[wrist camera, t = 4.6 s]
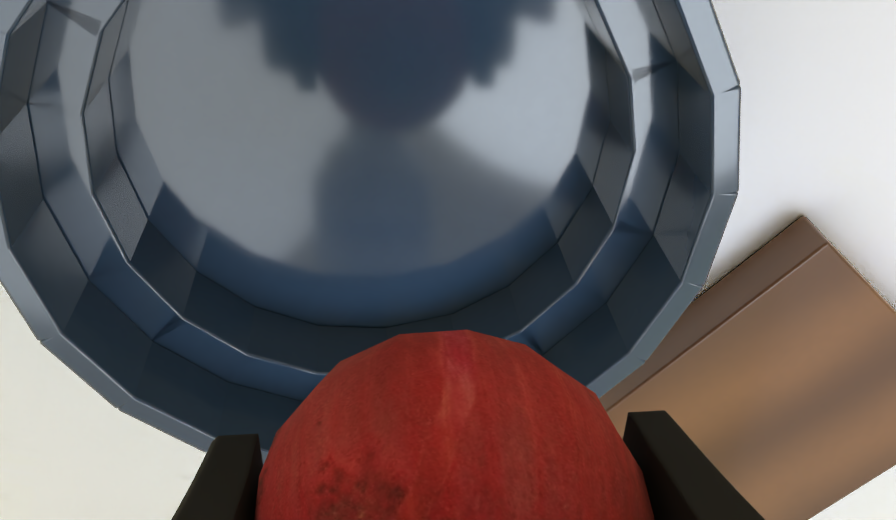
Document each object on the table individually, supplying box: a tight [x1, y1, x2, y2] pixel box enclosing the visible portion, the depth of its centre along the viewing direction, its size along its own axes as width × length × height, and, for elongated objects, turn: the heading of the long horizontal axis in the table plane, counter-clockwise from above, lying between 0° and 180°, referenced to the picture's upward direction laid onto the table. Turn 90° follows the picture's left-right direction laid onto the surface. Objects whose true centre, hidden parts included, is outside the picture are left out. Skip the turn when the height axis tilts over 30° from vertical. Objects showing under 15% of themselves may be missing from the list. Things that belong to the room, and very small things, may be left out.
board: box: [599, 216, 896, 520], centre depth 27 cm, size 10×18×2 cm, turn 137°
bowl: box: [0, 0, 741, 465], centre depth 18 cm, size 15×15×4 cm
